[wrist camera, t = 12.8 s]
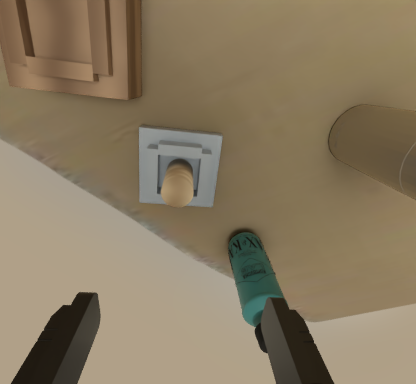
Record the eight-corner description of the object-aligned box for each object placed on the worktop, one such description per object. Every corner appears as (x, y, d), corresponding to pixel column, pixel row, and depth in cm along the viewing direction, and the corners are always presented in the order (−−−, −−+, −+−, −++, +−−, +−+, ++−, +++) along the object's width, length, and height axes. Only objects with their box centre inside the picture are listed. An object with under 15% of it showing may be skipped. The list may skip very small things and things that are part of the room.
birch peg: (193, 159, 35) (194, 179, 28) (191, 183, 37) (192, 208, 30) (167, 157, 35) (161, 176, 28) (166, 181, 37) (160, 206, 29)
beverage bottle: (264, 243, 46) (313, 347, 28) (235, 259, 47) (265, 369, 29) (248, 220, 43) (291, 319, 25) (218, 237, 44) (239, 344, 26)
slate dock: (221, 133, 36) (225, 139, 32) (211, 201, 41) (214, 214, 37) (141, 124, 35) (135, 130, 30) (141, 196, 40) (136, 210, 35)
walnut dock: (141, -12, 28) (120, -53, 19) (141, 96, 33) (124, 101, 24) (33, -31, 26) (-42, -84, 18) (50, 85, 31) (-1, 86, 23)
